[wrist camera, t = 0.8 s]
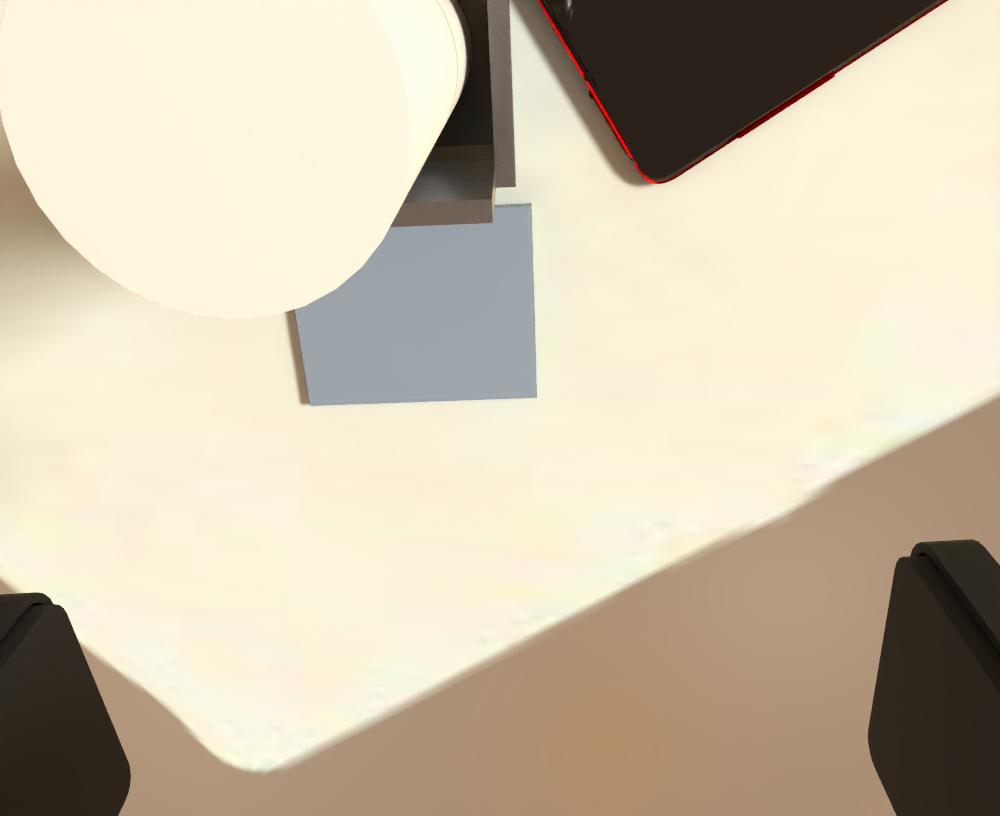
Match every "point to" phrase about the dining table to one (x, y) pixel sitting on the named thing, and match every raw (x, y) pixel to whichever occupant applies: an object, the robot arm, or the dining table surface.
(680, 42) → the smartphone
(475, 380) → the mat
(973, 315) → the dining table surface
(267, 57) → the cylindrical container
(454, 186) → the rack
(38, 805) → the robot arm
